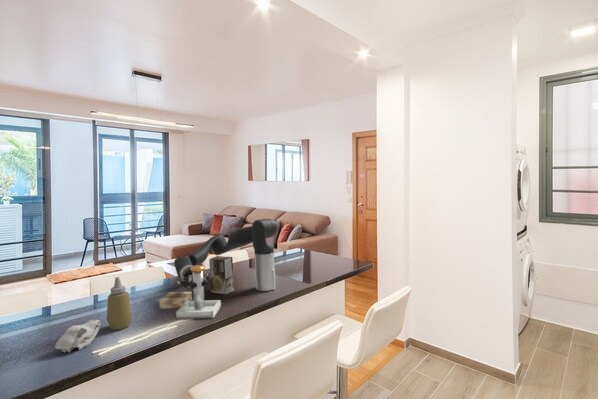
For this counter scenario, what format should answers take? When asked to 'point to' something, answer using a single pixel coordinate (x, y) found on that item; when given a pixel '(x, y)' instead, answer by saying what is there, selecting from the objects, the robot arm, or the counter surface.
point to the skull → (78, 336)
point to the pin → (198, 286)
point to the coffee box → (221, 274)
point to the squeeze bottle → (118, 307)
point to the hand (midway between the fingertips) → (199, 285)
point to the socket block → (175, 299)
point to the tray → (199, 310)
